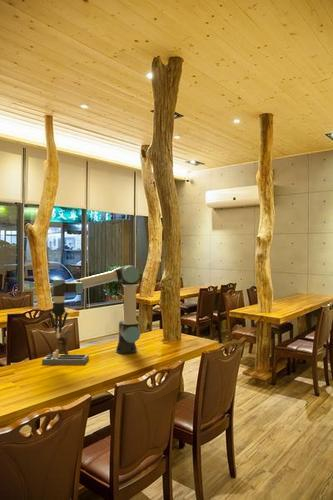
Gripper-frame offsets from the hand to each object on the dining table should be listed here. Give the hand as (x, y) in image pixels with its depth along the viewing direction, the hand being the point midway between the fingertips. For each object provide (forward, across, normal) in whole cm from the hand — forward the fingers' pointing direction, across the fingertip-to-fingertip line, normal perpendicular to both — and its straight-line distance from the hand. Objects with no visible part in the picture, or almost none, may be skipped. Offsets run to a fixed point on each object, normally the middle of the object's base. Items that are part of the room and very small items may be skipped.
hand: (58, 337), depth 238 cm
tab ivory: (+15, +2, +1) cm, 15 cm away
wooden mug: (+17, +2, -20) cm, 26 cm away
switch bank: (+17, -5, -2) cm, 17 cm away
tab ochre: (+15, +2, -5) cm, 16 cm away
